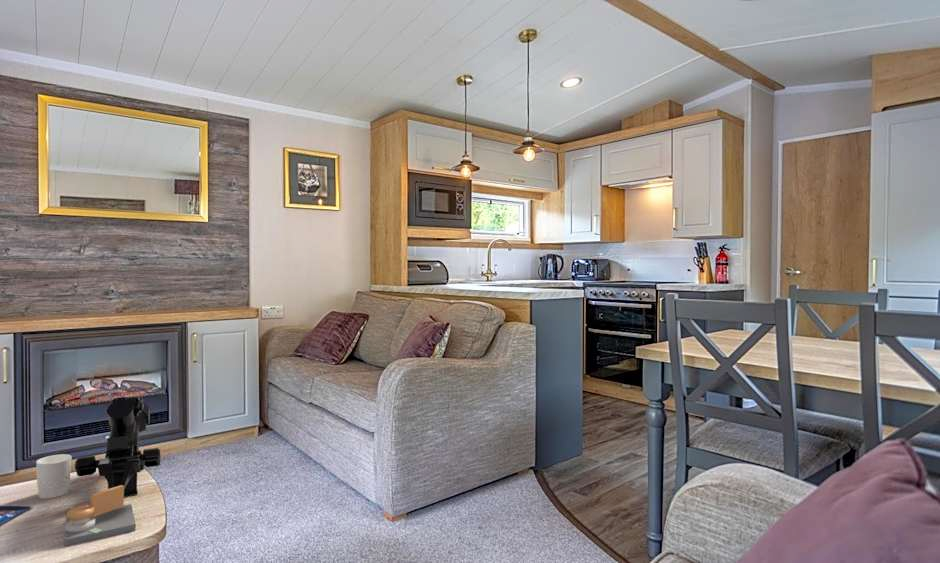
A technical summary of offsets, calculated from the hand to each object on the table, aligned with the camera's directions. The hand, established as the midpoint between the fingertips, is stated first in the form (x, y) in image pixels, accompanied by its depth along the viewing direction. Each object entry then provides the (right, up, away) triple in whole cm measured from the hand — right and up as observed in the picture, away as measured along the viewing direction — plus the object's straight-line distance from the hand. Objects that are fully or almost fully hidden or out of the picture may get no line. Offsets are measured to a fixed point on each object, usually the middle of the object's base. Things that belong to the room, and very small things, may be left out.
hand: (116, 492), depth 135 cm
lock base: (-1, -7, -4) cm, 8 cm away
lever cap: (-1, -3, -5) cm, 6 cm away
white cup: (-27, -6, +13) cm, 31 cm away
